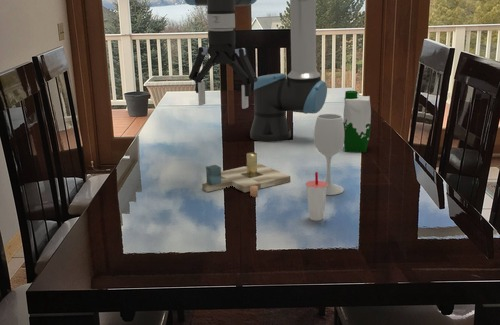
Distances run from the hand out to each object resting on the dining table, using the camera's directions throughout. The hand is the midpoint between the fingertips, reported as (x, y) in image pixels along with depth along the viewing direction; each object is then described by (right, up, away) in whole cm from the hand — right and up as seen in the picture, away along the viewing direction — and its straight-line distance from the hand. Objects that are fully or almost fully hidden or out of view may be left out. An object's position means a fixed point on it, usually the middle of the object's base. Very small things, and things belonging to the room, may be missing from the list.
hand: (223, 106), depth 174 cm
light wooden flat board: (+5, -22, +5) cm, 23 cm away
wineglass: (+29, -24, -3) cm, 38 cm away
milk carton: (+44, -12, +36) cm, 58 cm away
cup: (+24, -30, -22) cm, 44 cm away
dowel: (+9, -25, -6) cm, 27 cm away
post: (+8, -21, +7) cm, 24 cm away
